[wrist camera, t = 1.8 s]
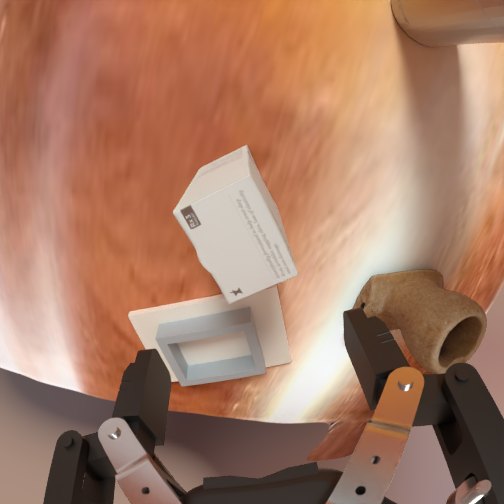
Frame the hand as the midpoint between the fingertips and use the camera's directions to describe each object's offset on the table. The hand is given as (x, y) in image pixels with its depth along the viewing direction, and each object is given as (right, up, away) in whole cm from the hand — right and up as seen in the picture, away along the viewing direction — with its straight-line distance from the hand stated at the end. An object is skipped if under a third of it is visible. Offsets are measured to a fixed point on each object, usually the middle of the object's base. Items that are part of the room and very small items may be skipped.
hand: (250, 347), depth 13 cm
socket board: (-5, -8, +31) cm, 32 cm away
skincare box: (-2, +11, +22) cm, 24 cm away
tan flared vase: (+21, -1, +30) cm, 36 cm away
